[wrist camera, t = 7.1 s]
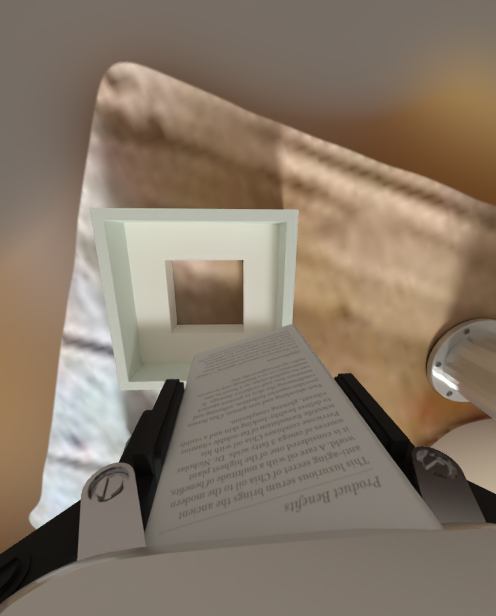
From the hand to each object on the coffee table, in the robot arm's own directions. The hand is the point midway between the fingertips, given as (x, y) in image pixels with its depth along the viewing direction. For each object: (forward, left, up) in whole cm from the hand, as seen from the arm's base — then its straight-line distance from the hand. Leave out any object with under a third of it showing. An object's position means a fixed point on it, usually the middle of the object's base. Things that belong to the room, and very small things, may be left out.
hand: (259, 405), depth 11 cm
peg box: (+5, -1, -20) cm, 21 cm away
